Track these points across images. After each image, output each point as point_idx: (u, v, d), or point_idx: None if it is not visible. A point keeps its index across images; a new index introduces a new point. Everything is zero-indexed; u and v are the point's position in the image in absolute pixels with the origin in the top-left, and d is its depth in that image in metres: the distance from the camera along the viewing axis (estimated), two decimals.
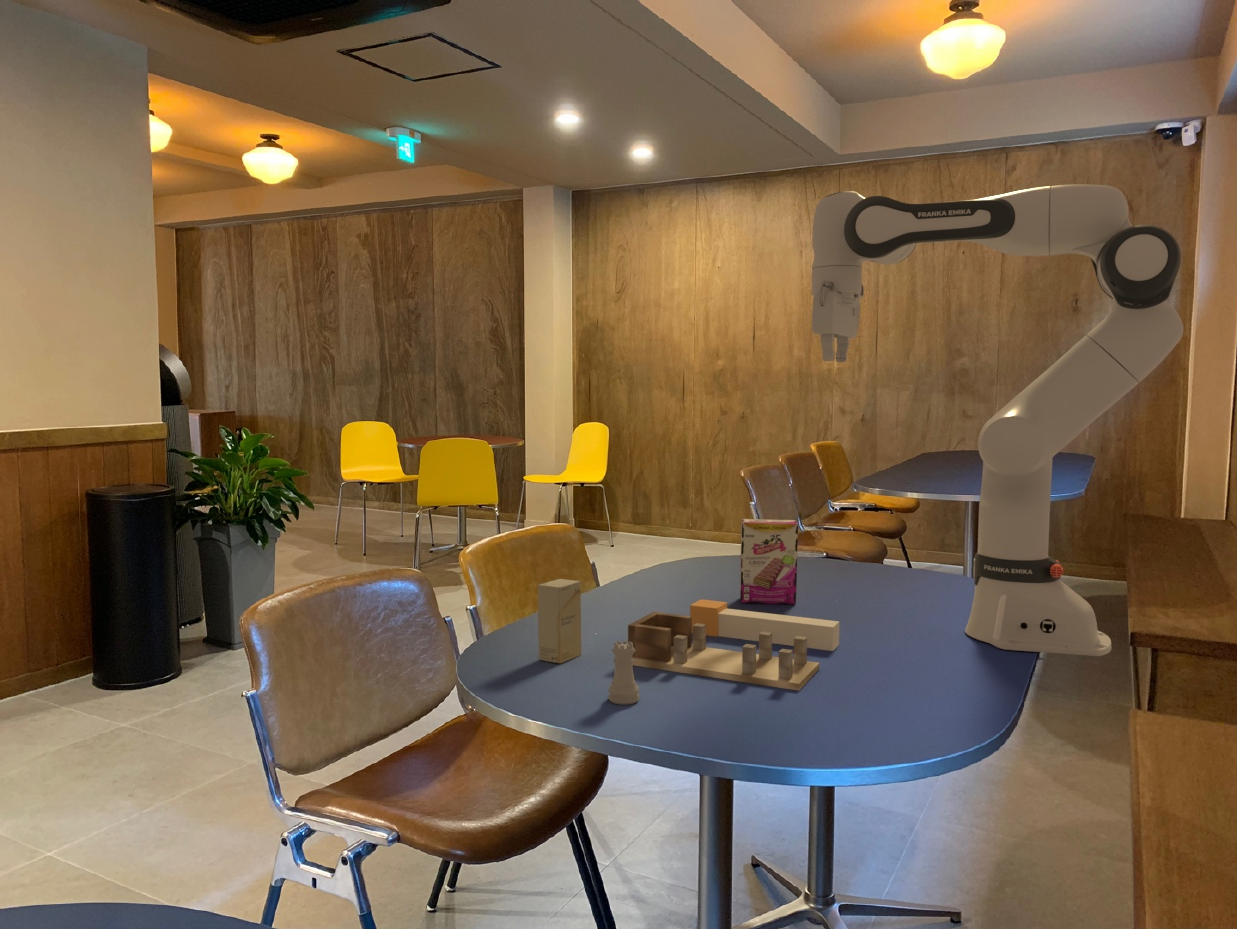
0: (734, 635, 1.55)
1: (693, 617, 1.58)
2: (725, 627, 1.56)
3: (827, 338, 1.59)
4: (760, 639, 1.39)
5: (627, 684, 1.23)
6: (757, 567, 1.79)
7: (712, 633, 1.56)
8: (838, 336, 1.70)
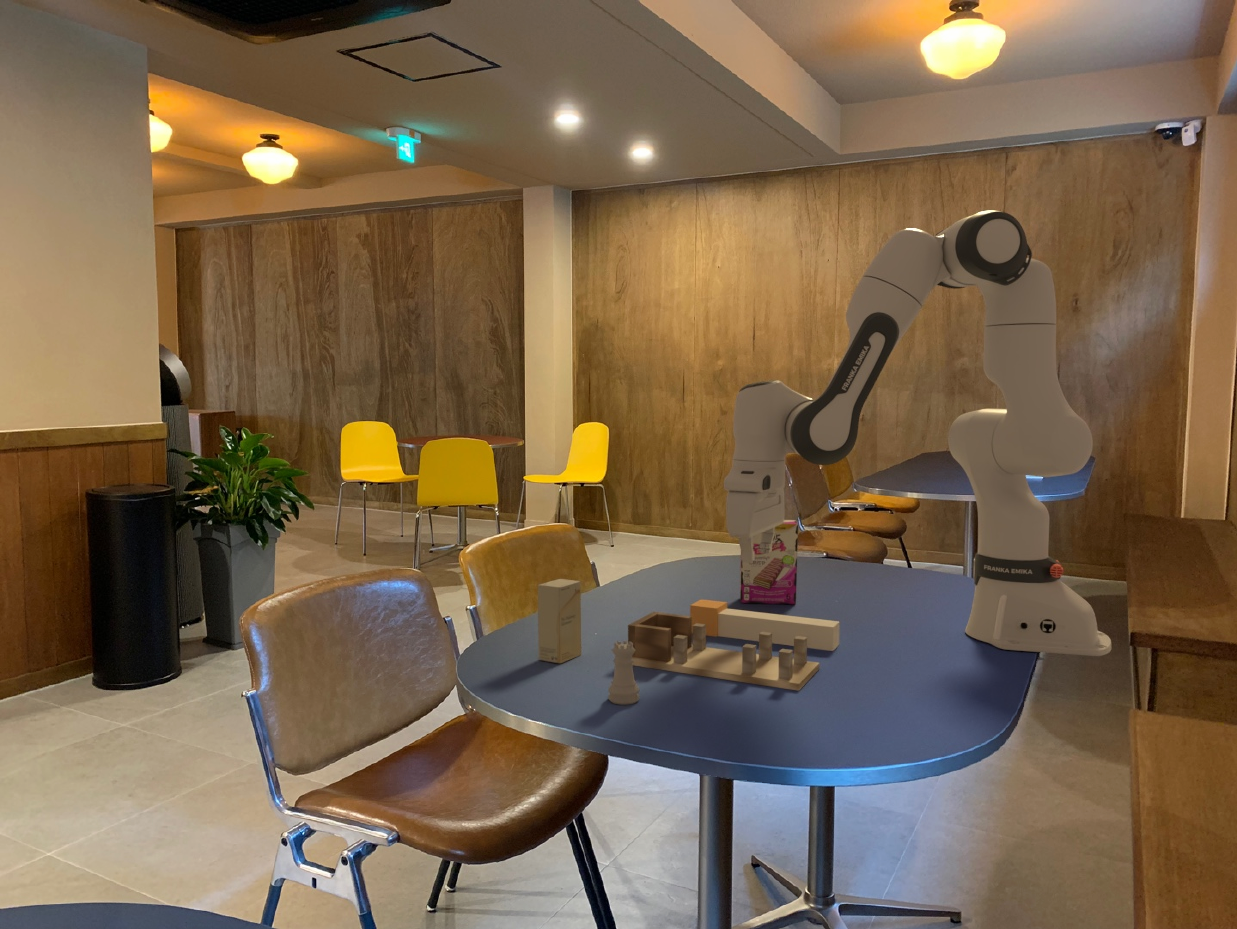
0: (734, 635, 1.55)
1: (693, 617, 1.58)
2: (725, 627, 1.56)
3: None
4: (760, 639, 1.39)
5: (627, 684, 1.23)
6: (757, 567, 1.79)
7: (712, 633, 1.56)
8: None
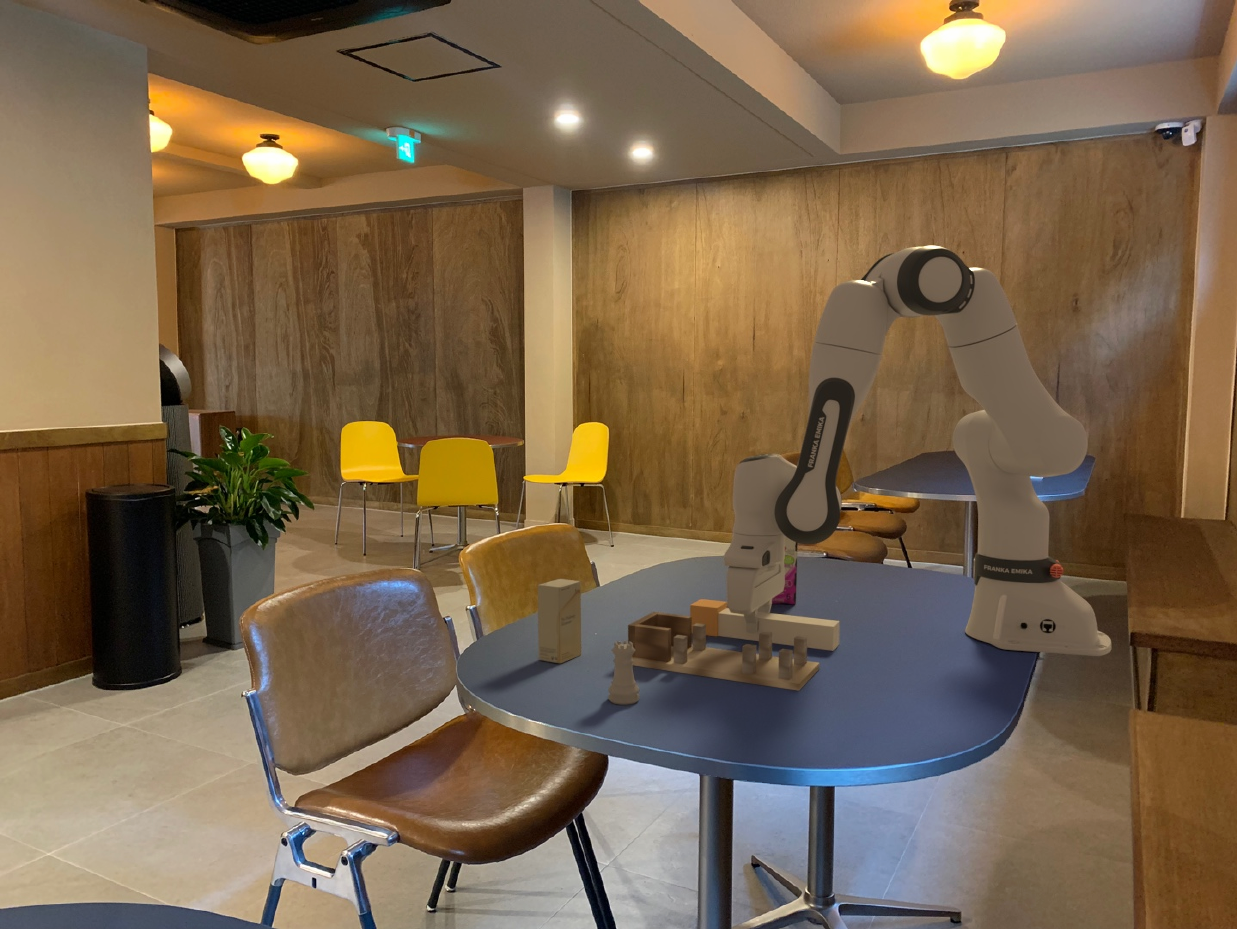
0: (734, 635, 1.55)
1: (693, 617, 1.58)
2: (725, 627, 1.56)
3: None
4: (760, 639, 1.39)
5: (627, 684, 1.23)
6: None
7: (712, 633, 1.56)
8: None
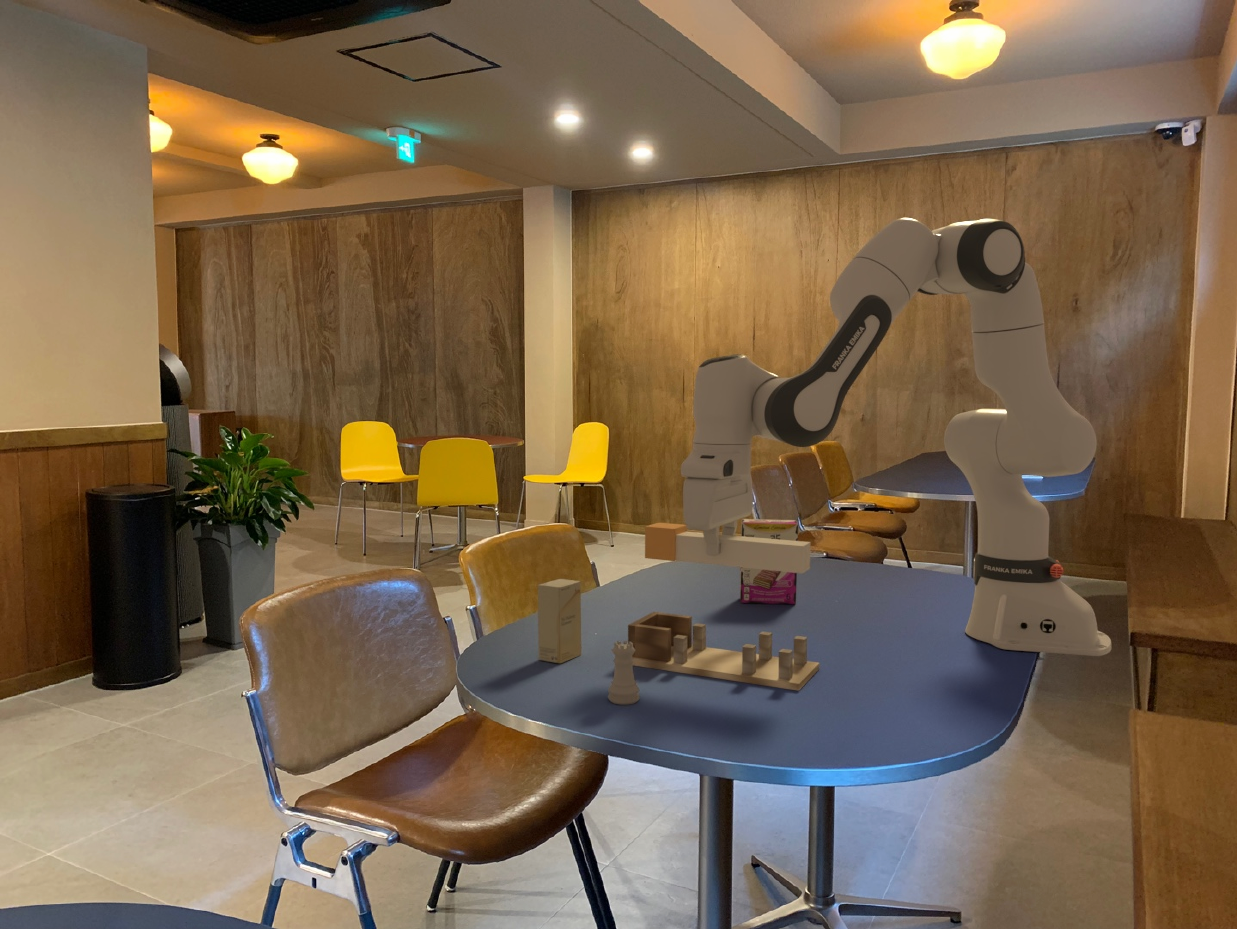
0: (693, 559, 1.38)
1: (648, 540, 1.41)
2: (683, 550, 1.39)
3: None
4: (760, 639, 1.39)
5: (627, 684, 1.23)
6: None
7: (669, 557, 1.40)
8: None
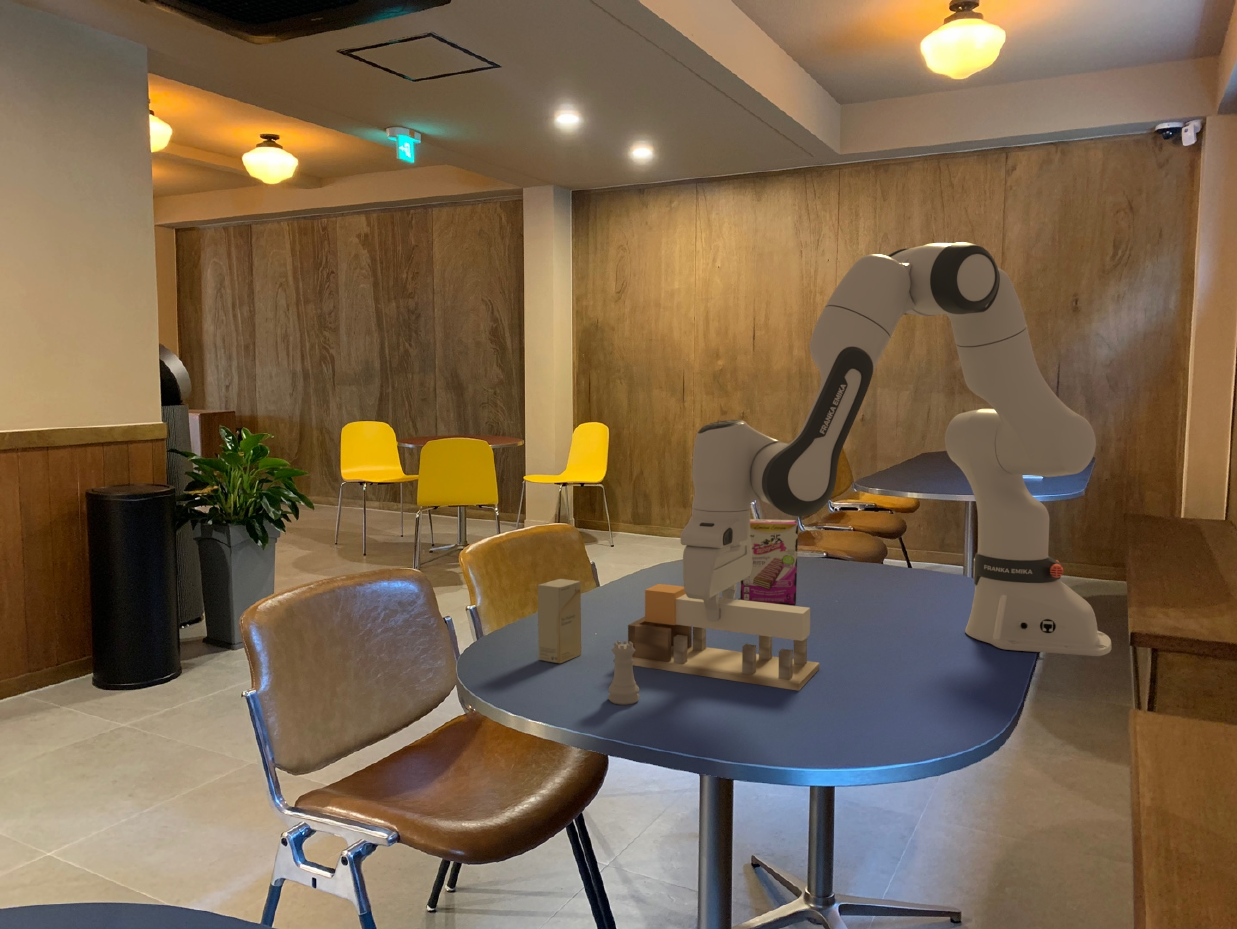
0: (693, 623, 1.39)
1: (648, 603, 1.41)
2: (683, 614, 1.39)
3: None
4: (760, 639, 1.39)
5: (627, 684, 1.23)
6: (757, 567, 1.79)
7: (669, 621, 1.40)
8: None
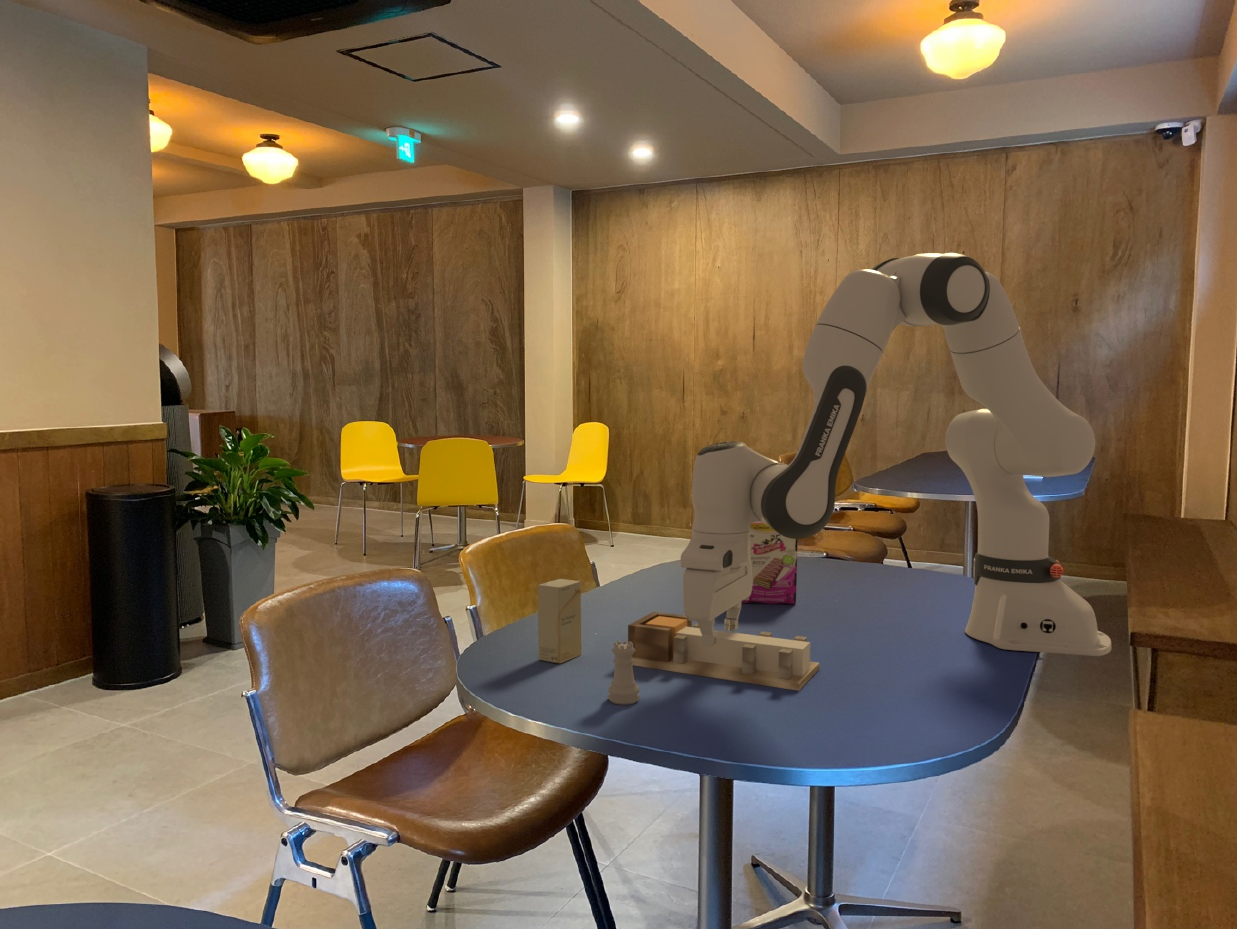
0: (694, 657, 1.39)
1: None
2: None
3: None
4: None
5: (627, 684, 1.23)
6: (757, 567, 1.79)
7: None
8: None
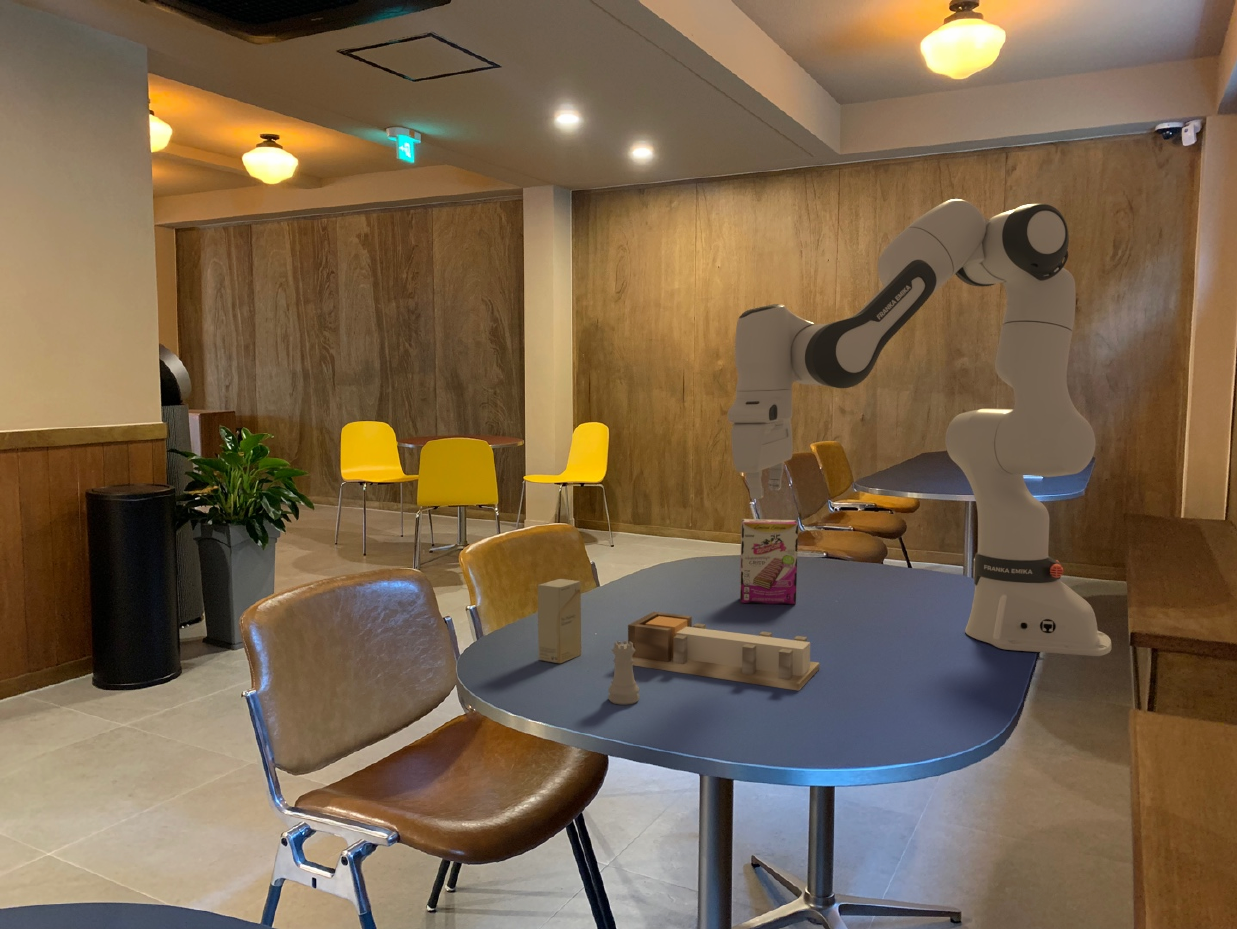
0: (694, 657, 1.39)
1: None
2: None
3: None
4: None
5: (627, 684, 1.23)
6: (757, 567, 1.79)
7: None
8: None
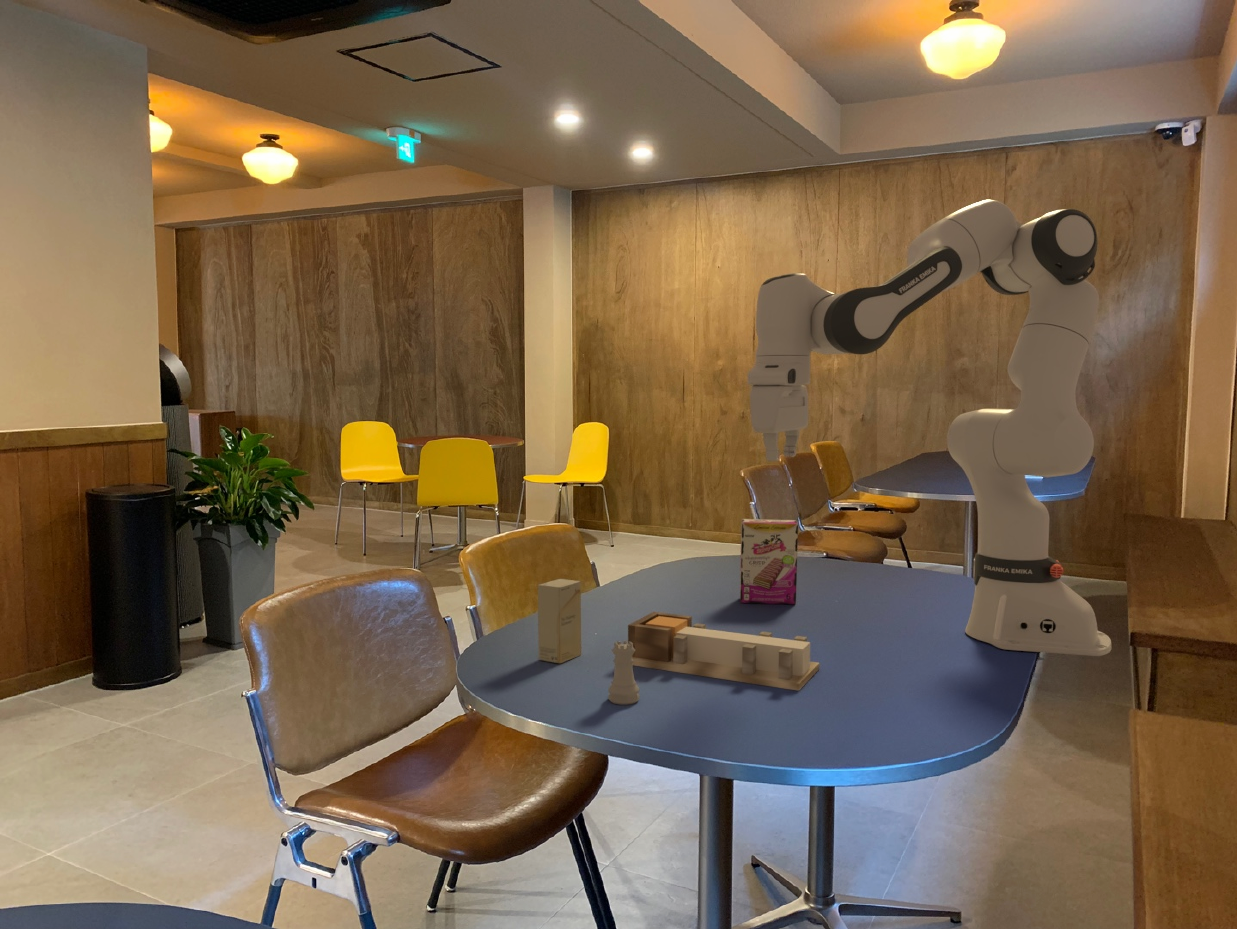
0: (694, 657, 1.39)
1: None
2: None
3: None
4: None
5: (627, 684, 1.23)
6: (757, 567, 1.79)
7: None
8: None
